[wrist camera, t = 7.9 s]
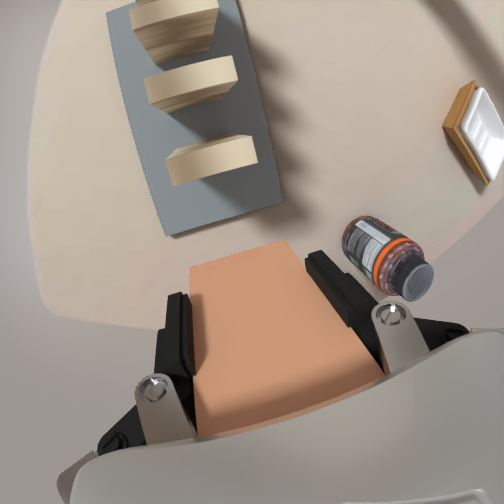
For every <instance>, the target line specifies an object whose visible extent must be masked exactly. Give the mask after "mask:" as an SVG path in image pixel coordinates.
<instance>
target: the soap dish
mask: <svg viewBox="0 0 504 504" xmlns="http://www.w3.org/2000/svg"><path fill="white" fill-rule="evenodd" d="M443 128H444V129H445V131H446V132H447V133H448V135H449V136H450V138H451V139H452V141H453V142H454V144H455V145H456V146H457V148H458V150H459V151H460V153H461V154H462V156H463V157H464V159H465V161H466V162H467V164H468V165H469V167H470V169H471V170H472V171H473V172H474V173H475V174H476V175H477V176H478V177H479V178H480V179H481V180H482V181H483V182H484V183H485V184H486V185H488V184H489V182H490V180H491V181H494V180H495V178H496V176H497V174H498V172H499V169H500V167H501V165H502V162H503V160H504V126H503V123H502V121H501V119H500V117H499V115H498V113H497V111H496V109H495V107H494V105H493V103H492V101H491V99H490V97H489V95H488V94H487V92H486V91H485V89H484V88H480V87H479V85H478V84H477V82H476V81H475V80H473V81H472V82H470V83H469V84H467V85H465V86H464V87H462V88H461V89H460V90H459V93H458V95H457V97H456V99H455V101H454V103H453V105H452V107H451V109H450V111H449V113H448V115H447V117H446V120H445V122H444V124H443Z"/></svg>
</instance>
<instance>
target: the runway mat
mask: <svg viewBox="0 0 504 504" xmlns="http://www.w3.org/2000/svg"><path fill="white" fill-rule="evenodd" d="M217 2H218V5H219V10H218V14H217V18H216V23H215V27H214V31H213V36H212V40H211V45H210V50H207V51H202V52H198V53H194V54H190V55H186V56H182V57H178V58H175V59H171V60H168V61H165V62H161V63H158V64H154V62H153V61H152V59H151V58H150V56H149V55H148V53H147V51H146V50H145V48H144V47H143V45H142V44H141V42H140V41H139V39H138V37H137V36H136V34H135V33H134V31H133V29H132V24H131V19H130V14H129V9H132V8H135V7H138V5H137V3H136V2H134V3H131V4H128V5H125V6H122V7H120V8H117V9H115V10H112V11H110V12H107V13H106V16H107V23H108V29H109V34H110V40H111V45H112V50H113V55H114V60H115V65H116V70H117V74H118V79H119V83H120V87H121V91H122V96H123V100H124V104H125V108H126V111H127V115H128V119H129V123H130V126H131V130H132V134H133V137H134V141H135V144H136V148H137V151H138V155H139V158H140V161H141V164H142V168H143V171H144V174H145V177H146V180H147V184H148V187H149V190H150V193H151V196H152V199H153V202H154V205H155V208H156V210H157V213H158V216H159V219H160V222H161V225H162V228H163V230H164V233H165V236H170V235H173V234H176V233H179V232H183V231H186V230H189V229H192V228H196V227H199V226H202V225H206V224H209V223H213V222H216V221H219V220H223V219H226V218H230V217H233V216H237V215H240V214H244V213H247V212H251V211H255V210H258V209H262V208H266V207H269V206H273V205H277V204H280V203H284V201H283V196H282V191H281V185H280V181H279V176H278V171H277V166H276V161H275V156H274V152H273V147H272V143H271V138H270V133H269V129H268V125H267V120H266V116H265V111H264V107H263V103H262V99H261V95H260V90H259V86H258V82H257V78H256V74H255V70H254V66H253V62H252V58H251V55H250V51H249V47H248V43H247V39H246V36H245V32H244V28H243V25H242V21H241V18H240V14H239V11H238V7H237V4H236V0H217ZM231 55H232V58H233V62H234V66H235V69H236V73H237V77H238V81H237V82H236V83H235V84H234V85H233V86H232V88H231V89H230V90H229V91H228V92H227V93H226V94H225V95H224V96H223V98H221V99H217V100H213V101H209V102H205V103H201V104H198V105H194V106H190V107H187V108H183V109H180V110H177V111H173V112H170V113H165V112H164V111H162V110H160V109H158V108H156V107H154V106H153V105H151V104H150V103H149V99H148V95H147V91H146V87H145V83H144V78H147V77H150V76H153V75H156V74H159V73H162V72H165V71H169V70H172V69H176V68H179V67H183V66H186V65H190V64H194V63H198V62H202V61H207V60H211V59H216V58H220V57H225V56H231ZM230 133H232V134H239V135H247V136H252V139H253V144H254V148H255V152H256V157H257V161H258V163H255V164H251V165H247V166H243V167H239V168H236V169H232V170H228V171H224V172H221V173H217V174H214V175H210V176H207V177H203V178H200V179H196V180H193V181H190V182H186V183H183V184H180V185H177V186H174V187H173V185H172V181H171V178H170V175H169V171H168V168H167V165H166V161H165V160H166V159H167V158H168V157H169V156H170V155H171V154H172V153H173V152H174V151H175V149H176V148H179V147H183V146H186V145H189V144H193V143H196V142H200V141H203V140H207V139H211V138H214V137H218V136H222V135H226V134H230Z"/></svg>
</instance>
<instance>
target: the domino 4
mask: <svg viewBox="0 0 504 504" xmlns="http://www.w3.org/2000/svg"><path fill="white" fill-rule="evenodd" d="M190 302H191V304H192V316H193V338H194V356H195V371H196V376H193V385H194V399H195V411H196V422H197V432H198V437H201V436H206V435H211V434H216V433H221V432H225V431H230V430H234V429H238V428H242V427H246V426H250V425H254V424H257V423H261V422H265V421H268V420H271V419H275V418H278V417H281V416H285V415H288V414H291V413H294V412H297V411H300V410H303V409H306V408H308V407H311V406H314V405H317V404H319V403H322V402H325V401H327V400H330V399H332V398H335V397H337V396H340V395H342V394H345V393H347V392H350V391H352V390H354V389H357V388H359V387H361V386H363V385H366V384H368V383H370V382H372V381H374V380H376V379H379V378H381V377H383V376H385V374H384V372H383V371H382V370H381V368H380V367H379V365H378V364H377V363H376V361H375V360H374V358H373V357H372V356H371V354H370V353H369V351H368V350H367V349H366V347H365V346H364V344H363V343H362V342H361V340H360V339H359V338H358V336H357V335H356V333H355V332H354V331H353V329H352V328H351V327H349V328H348V327H347V326H346V325H345V323H344V322H343V320H342V319H341V318H340V316H339V315H338V313H337V312H336V311H335V309H334V308H333V307H332V305H331V304H330V303H329V301H328V300H327V298H326V297H325V296H324V294H323V293H322V292H321V290H320V289H319V288H318V286H317V285H316V284H315V282H314V281H313V280H312V278H311V277H310V276H309V274H308V273H307V272H306V267H305V265H304V264H303V263H302V262H301V260H300V259H299V258H298V256H297V255H296V254H295V253H294V251H293V250H292V249H291V247H290V246H289V245H288V244H287V242H286V241H285V240H282V241H279V242H275V243H272V244H268V245H265V246H262V247H258V248H255V249H251V250H248V251H245V252H241V253H238V254H234V255H231V256H227V257H224V258H221V259H217V260H214V261H210V262H207V263H204V264H200V265H197V266H193V267H190Z"/></svg>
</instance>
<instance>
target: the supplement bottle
mask: <svg viewBox="0 0 504 504" xmlns="http://www.w3.org/2000/svg"><path fill="white" fill-rule="evenodd" d="M342 248H343V251H344V254H345V255H346V256H347V258H348V259H349V260H350V261H351V262H352V263H353V264H354V265H355V266H356V267H357V268H358V269H360V270H361V271H362V272H363V273H364V274H365V275H366V276H367V277H368V278H369V279H370V280H371V281H372V282H373V283H374V284H375V285H376V286H377V287H378V288H379V289H380V290H381V291H383V292H384V293H385V294H387V295H390V296H398V295H400V296H402V297H403V298H404V299H405V300H406V301H410V302H412V301H416V300H418V299H419V298H421V297H422V296H423V295H424V294H425V293H426V292H427V291H428V289H429V288H430V286H431V284H432V281H433V276H434V272H433V268H432V266H431V265H430V264H428V263H427V262H426V261H425V260H424V253H423V251H422V249H421V247H420V246H419V245H418V244H417V243H415V242H414V241H412V240H410V239H409V238H408V237H406V236H404V235H403V234H401V233H399V232H398V231H396V230H395V229H393V228H391V227H390V226H388V225H386V224H385V223H383V222H382V221H380V220H378V219H376V218H374V217H371V216H361V217H359V218H357V219H355V220H354V221H352V222H351V223H350V224H349V225H348V227H347V228H346V230H345V232H344V235H343V238H342Z"/></svg>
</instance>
